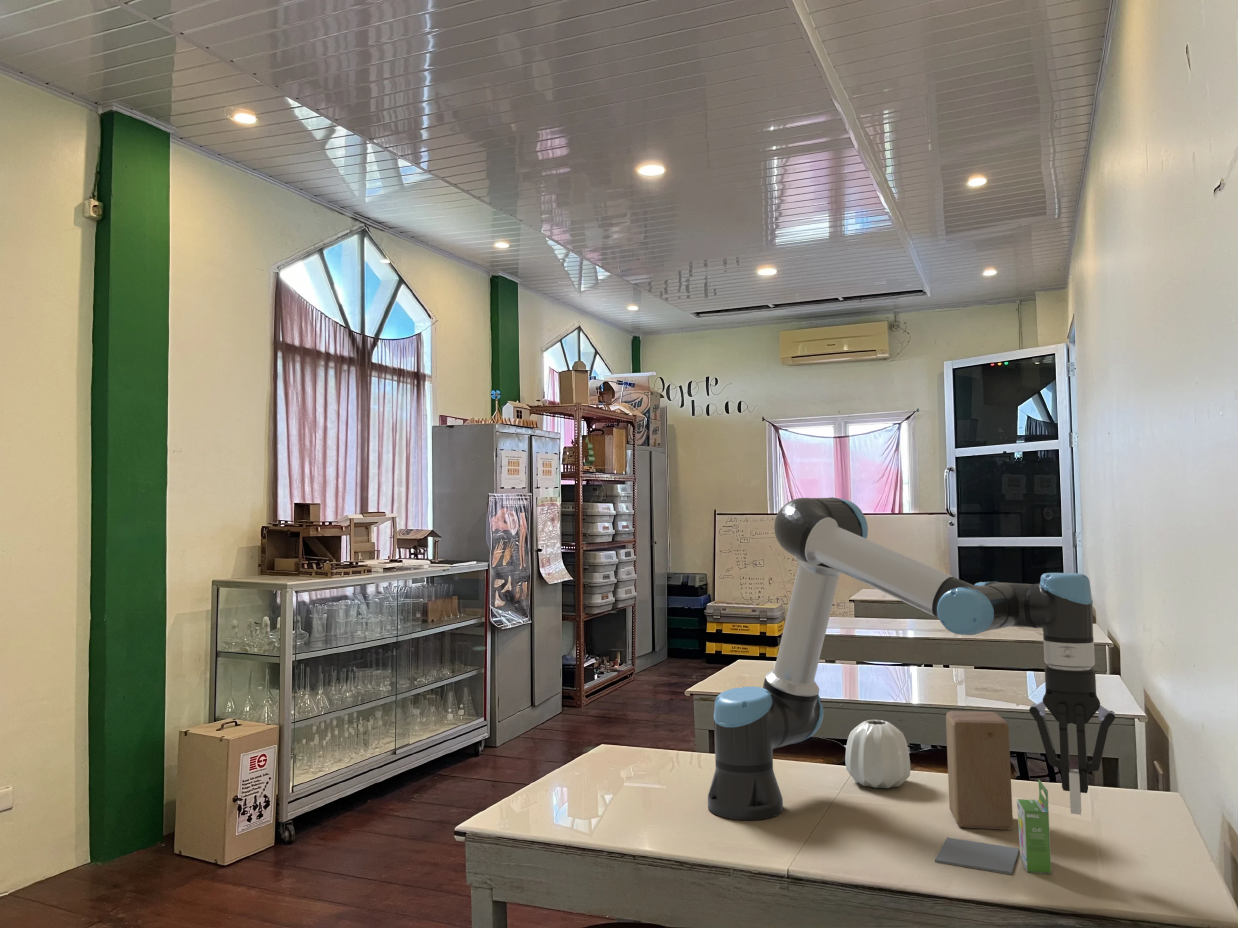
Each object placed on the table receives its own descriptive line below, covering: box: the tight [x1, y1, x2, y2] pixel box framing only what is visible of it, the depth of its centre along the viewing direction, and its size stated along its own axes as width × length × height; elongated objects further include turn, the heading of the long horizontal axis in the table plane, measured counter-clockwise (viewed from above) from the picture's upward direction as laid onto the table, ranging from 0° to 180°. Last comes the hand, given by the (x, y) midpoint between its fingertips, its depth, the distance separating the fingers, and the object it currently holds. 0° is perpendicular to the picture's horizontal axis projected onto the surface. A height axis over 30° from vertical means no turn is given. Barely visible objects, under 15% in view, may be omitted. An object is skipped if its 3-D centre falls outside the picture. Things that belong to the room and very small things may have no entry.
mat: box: [934, 836, 1020, 876], centre depth 153 cm, size 12×12×1 cm
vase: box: [844, 719, 911, 789], centre depth 196 cm, size 14×14×13 cm
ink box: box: [1016, 778, 1053, 875], centre depth 149 cm, size 7×4×13 cm, turn 165°
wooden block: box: [945, 710, 1014, 831], centre depth 171 cm, size 10×10×20 cm
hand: (1076, 811), depth 146 cm, fingers closed
